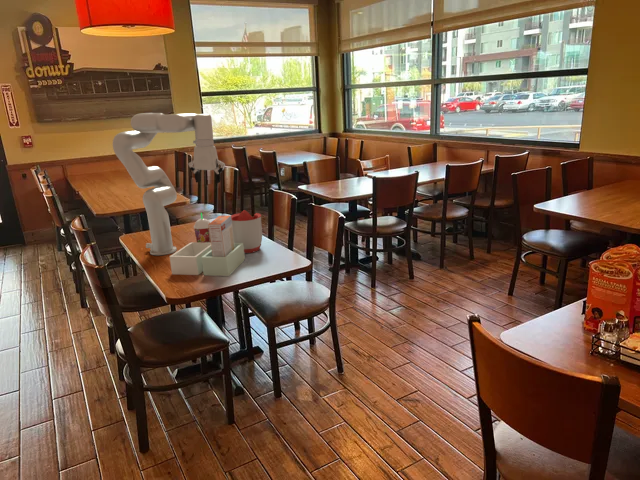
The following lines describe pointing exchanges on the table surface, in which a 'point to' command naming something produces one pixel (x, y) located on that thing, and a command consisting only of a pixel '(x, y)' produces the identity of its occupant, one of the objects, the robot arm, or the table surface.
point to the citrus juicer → (247, 230)
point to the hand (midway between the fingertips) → (208, 182)
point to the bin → (223, 262)
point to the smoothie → (202, 230)
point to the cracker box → (221, 236)
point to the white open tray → (189, 258)
